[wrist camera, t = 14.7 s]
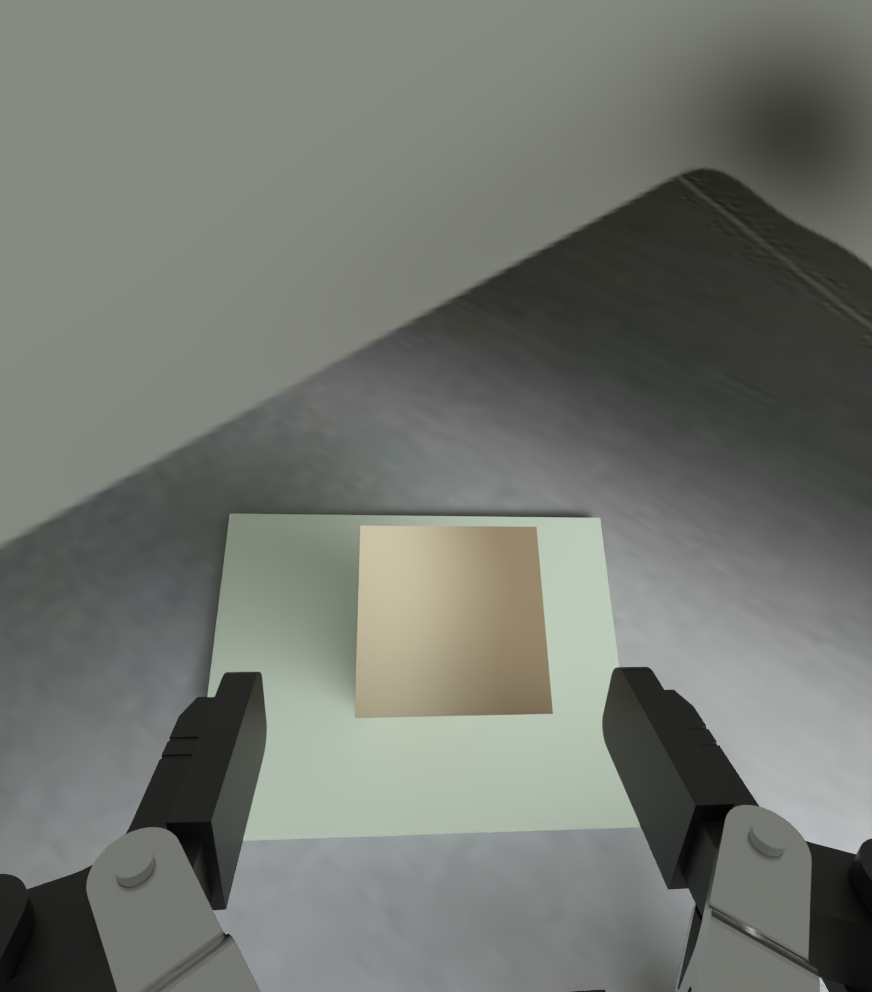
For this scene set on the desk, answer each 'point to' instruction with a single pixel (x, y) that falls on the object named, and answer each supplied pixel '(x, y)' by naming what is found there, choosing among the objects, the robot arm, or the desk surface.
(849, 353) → the desk surface
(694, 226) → the desk surface
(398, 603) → the birch block
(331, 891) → the desk surface
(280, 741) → the sage mat
